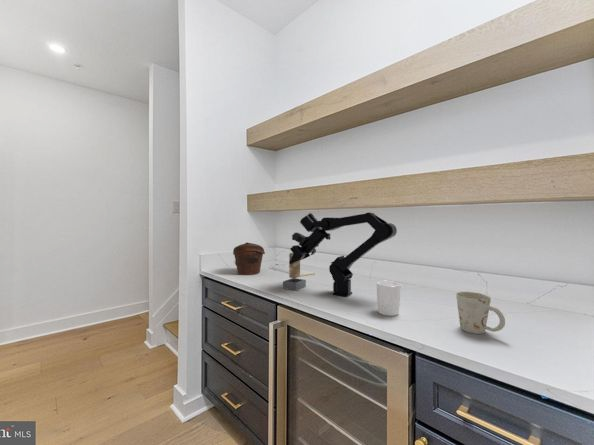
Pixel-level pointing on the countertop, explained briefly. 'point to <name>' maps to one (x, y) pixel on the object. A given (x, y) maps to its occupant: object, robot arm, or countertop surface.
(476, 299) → the mug
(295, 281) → the end cap
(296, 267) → the slat
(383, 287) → the white cup
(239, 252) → the brown tapered cylinder
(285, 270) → the baseboard
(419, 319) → the countertop surface
